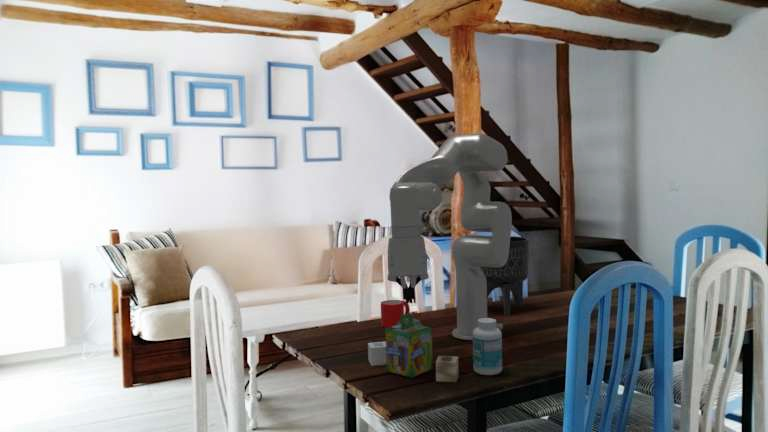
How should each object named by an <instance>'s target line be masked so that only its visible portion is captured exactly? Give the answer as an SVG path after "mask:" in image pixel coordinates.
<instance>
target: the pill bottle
mask: <svg viewBox="0 0 768 432" xmlns="http://www.w3.org/2000/svg"><path fill="white" fill-rule="evenodd" d="M496 322H497V319H495V318H491V317H487V318H481V319H478V326H479V327H477V328H475V329H474V331H473V340H472V365H473V366H472V367H473V372H475V373H477V374H479V375H484V376H494V375H498V374H500V373H502V371H503V333H502V331H501V329H498V328H496V327H495V326H496Z"/></svg>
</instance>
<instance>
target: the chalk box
mask: <svg viewBox="0 0 768 432" xmlns="http://www.w3.org/2000/svg"><path fill="white" fill-rule="evenodd" d="M412 318H413V316H412V314H411V313H410V312H409V314H406V315H405V314H404V315H403V316H400V322H401V324H399V325H396V326H392V327H389V328H385V329H384V334H385V335H384V337H385V342H386V365H385V366H386V372H388V373H392V374H395V375H400V376H404V377H408V378H412V379H413V378H415V377H417V376H419V375H421V374H425V373H427V372H431V371H433V369H434V368H433V367H434V366H433V361H434V360H433V328H432V327H431V326H426V325H423V324H422V325H423V326H422V325H419V324H413V320H412ZM405 319H409V323H404V320H405Z"/></svg>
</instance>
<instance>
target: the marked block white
mask: <svg viewBox="0 0 768 432" xmlns="http://www.w3.org/2000/svg"><path fill="white" fill-rule="evenodd" d="M367 356H368V362H369V363H370V366H371V367H373V366H387V365H386V341H375V342H374V341H373V342H367Z"/></svg>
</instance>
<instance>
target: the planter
mask: <svg viewBox="0 0 768 432" xmlns="http://www.w3.org/2000/svg"><path fill="white" fill-rule="evenodd" d="M529 253H530V239H529V238H528V237H523V236H510V247H509V255H508V260H507V262H506V264H505V265H504V266H503V267H498V268H495V267H480V268H481V269H482V271H483V273H484V274H485V277H486V280H487V301H488V299H489V296H490V294H491V293H492V292H493V291H494V290H495V289H498V288H500V289H501V295H502V303H503V304H502V305H503V315H504V316H511V294H512V296H513V300H514V306H515V308H518V309H520V308H523V302H524V301H523V299H524V297H523V296H524V293H523V292H524V291H523V290H524V282H525V281H526V280H527V279H528V278H529V263H530V262H529V261H530V260H529V259H530V254H529Z"/></svg>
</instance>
